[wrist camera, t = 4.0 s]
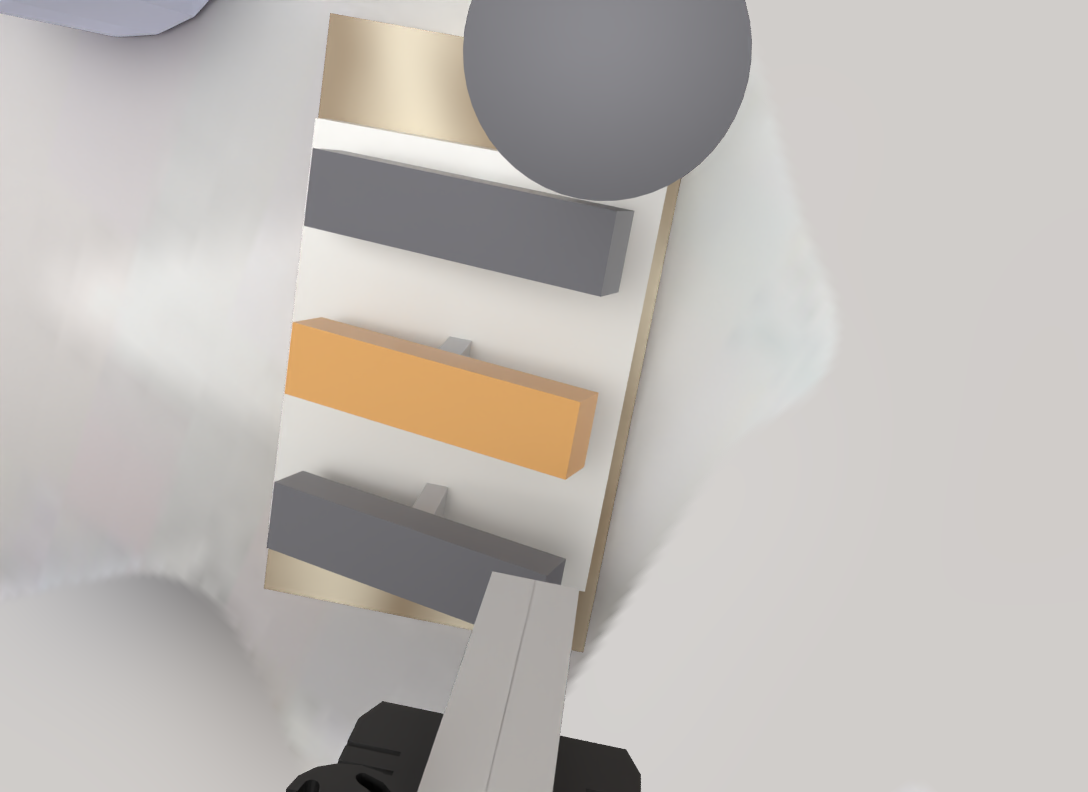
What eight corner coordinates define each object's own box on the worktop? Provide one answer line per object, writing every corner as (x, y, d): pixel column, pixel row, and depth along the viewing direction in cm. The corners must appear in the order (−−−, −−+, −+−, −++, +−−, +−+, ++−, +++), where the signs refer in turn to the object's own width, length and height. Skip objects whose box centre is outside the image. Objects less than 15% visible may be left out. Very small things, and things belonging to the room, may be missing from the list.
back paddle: (295, 533, 36) (266, 547, 35) (302, 470, 35) (274, 482, 34) (552, 626, 33) (533, 646, 31) (566, 558, 32) (546, 575, 31)
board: (280, 568, 43) (263, 588, 41) (346, 19, 37) (330, 13, 35) (585, 629, 42) (583, 652, 40) (697, 83, 37) (701, 79, 35)
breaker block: (285, 510, 40) (239, 559, 35) (331, 119, 36) (287, 115, 31) (587, 569, 39) (581, 628, 35) (665, 180, 36) (671, 186, 31)
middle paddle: (313, 385, 35) (284, 393, 33) (321, 317, 34) (292, 322, 33) (584, 466, 31) (565, 479, 30) (599, 392, 31) (580, 402, 29)
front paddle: (332, 224, 33) (303, 225, 32) (341, 150, 33) (312, 147, 31) (618, 292, 30) (600, 296, 28) (634, 210, 29) (617, 211, 28)
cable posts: (478, 636, 40) (276, 1300, 17) (581, 52, 35) (487, -126, 12) (562, 653, 40) (472, 1344, 17) (679, 69, 35) (781, -76, 12)
